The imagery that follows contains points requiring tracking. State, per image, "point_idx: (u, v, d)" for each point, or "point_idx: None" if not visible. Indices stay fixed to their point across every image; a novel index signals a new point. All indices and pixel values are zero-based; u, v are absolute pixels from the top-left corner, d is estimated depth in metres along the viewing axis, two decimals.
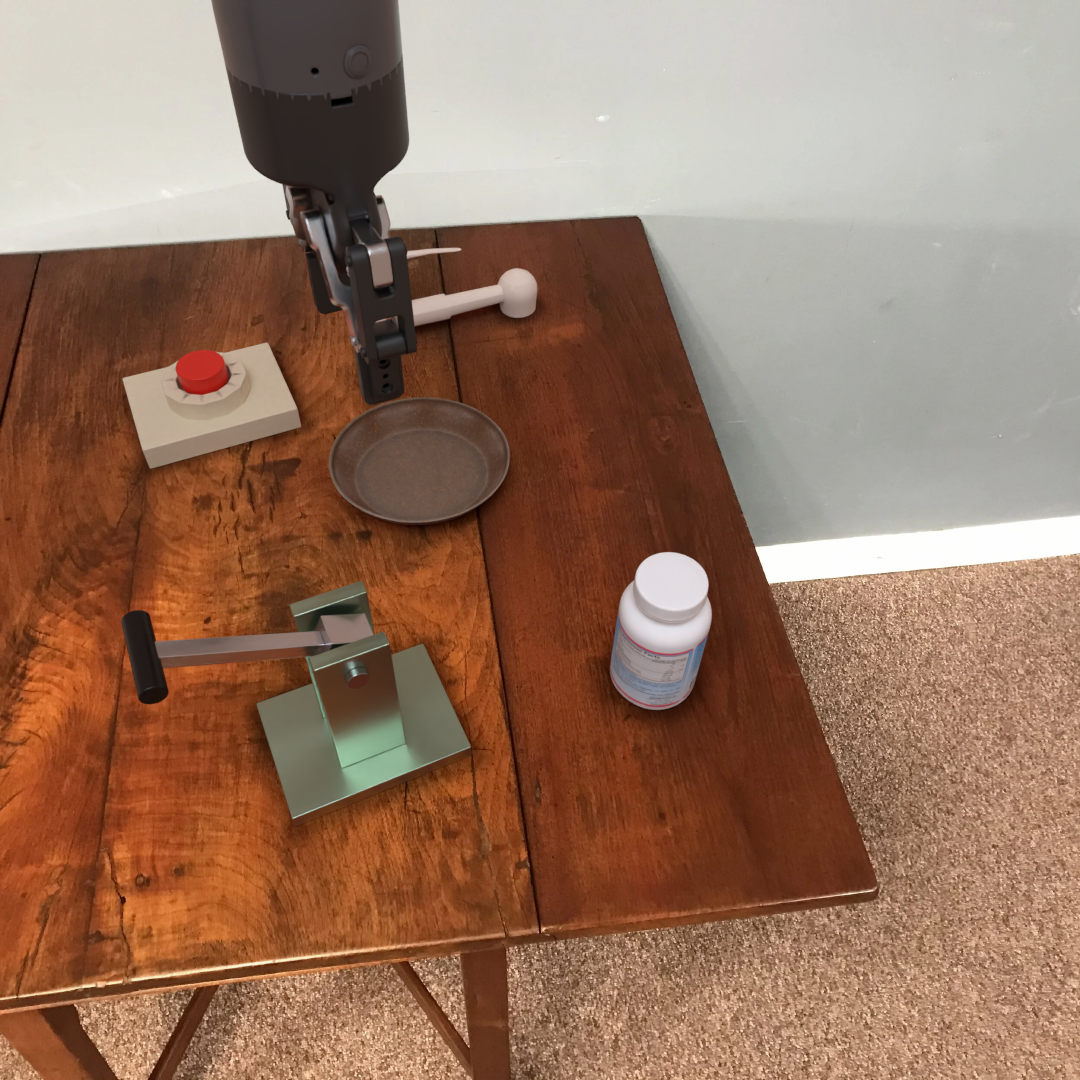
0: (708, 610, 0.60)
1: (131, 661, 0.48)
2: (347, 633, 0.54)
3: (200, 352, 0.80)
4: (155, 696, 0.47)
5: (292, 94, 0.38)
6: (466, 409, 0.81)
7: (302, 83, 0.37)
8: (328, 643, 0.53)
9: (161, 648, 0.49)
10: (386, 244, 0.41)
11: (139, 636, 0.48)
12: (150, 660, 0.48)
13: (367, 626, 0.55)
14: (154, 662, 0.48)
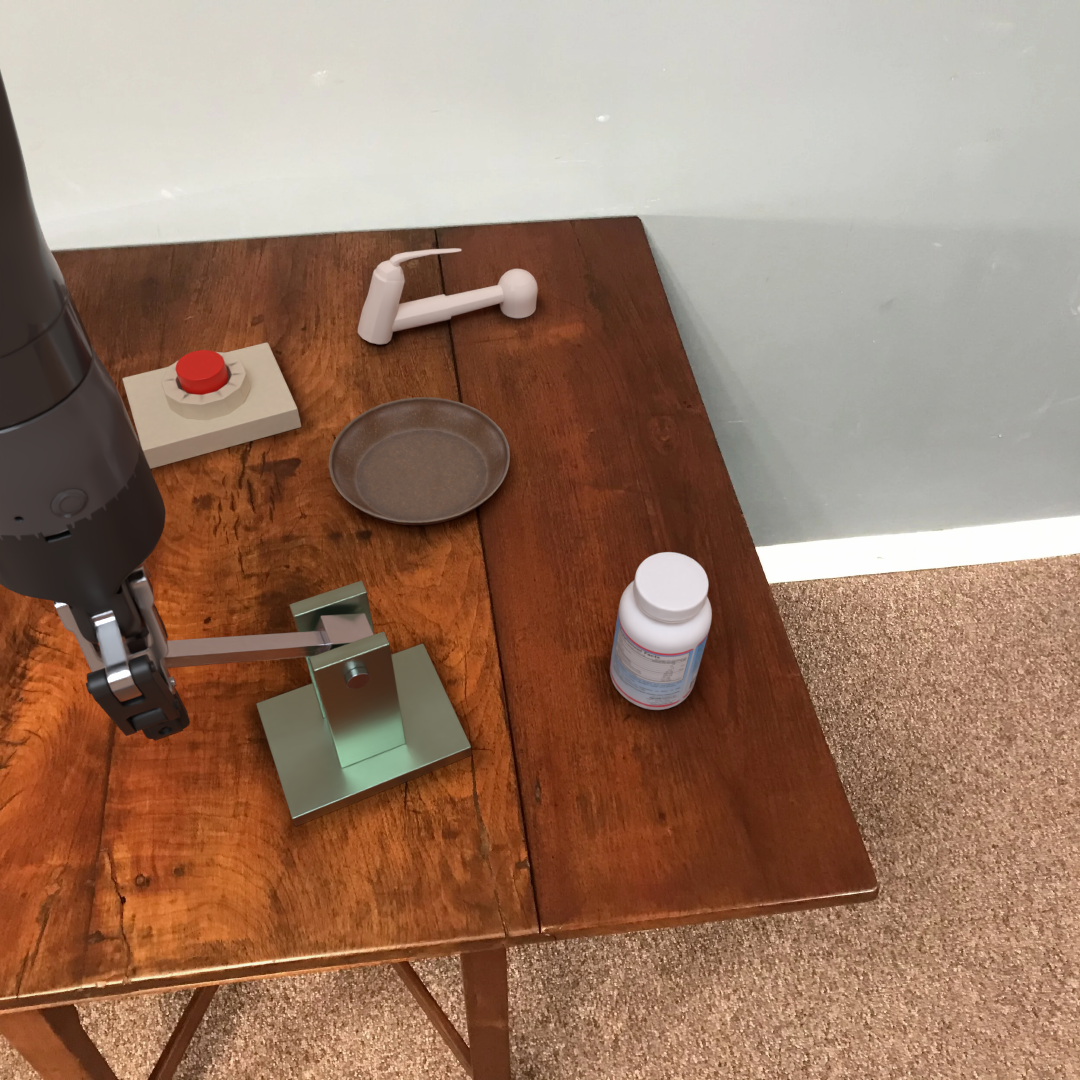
0: (708, 610, 0.60)
1: None
2: (347, 633, 0.54)
3: (200, 352, 0.80)
4: None
5: (0, 535, 0.35)
6: (466, 409, 0.81)
7: (8, 528, 0.35)
8: (328, 643, 0.53)
9: None
10: (130, 674, 0.39)
11: (139, 636, 0.48)
12: None
13: (367, 626, 0.55)
14: None
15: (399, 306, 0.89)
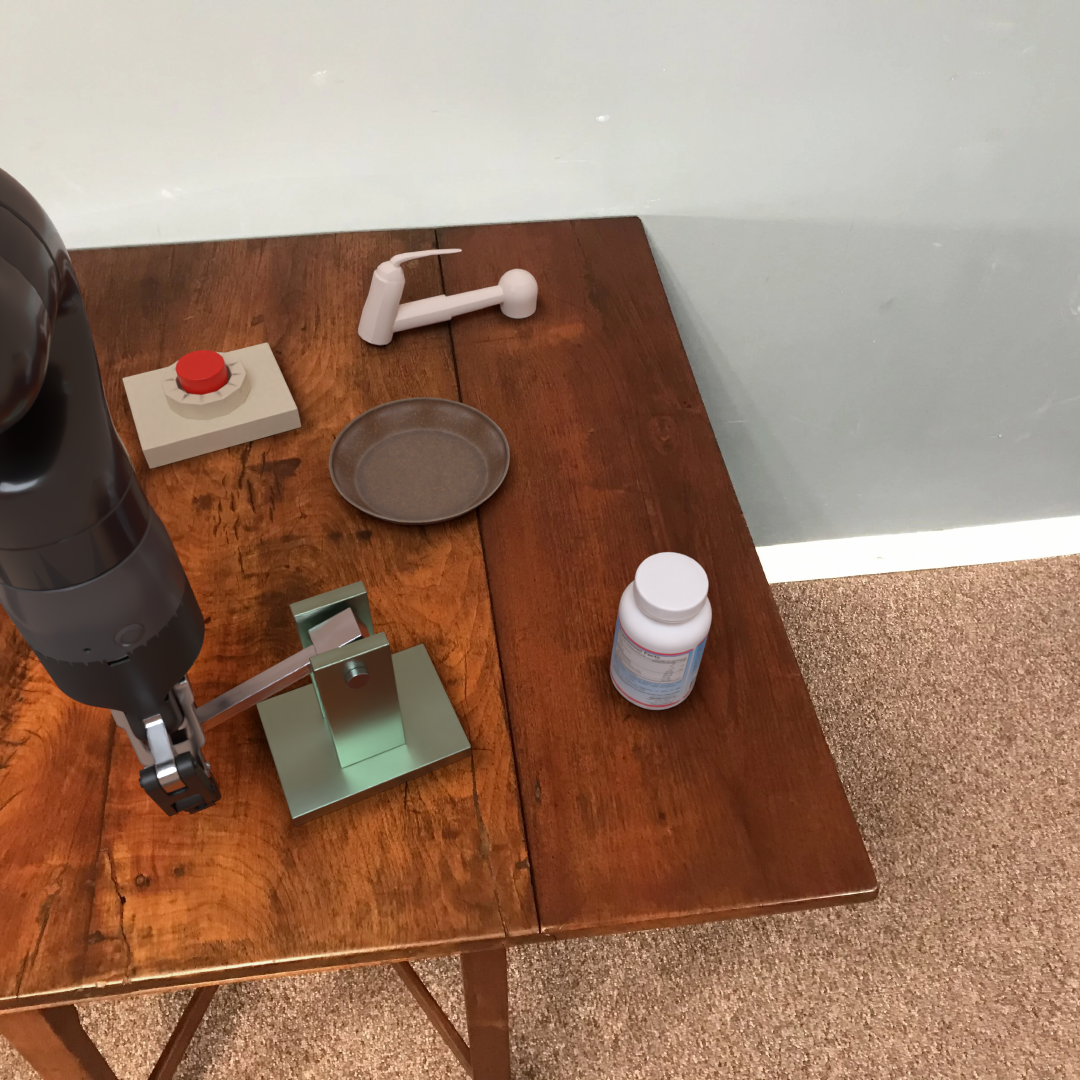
0: (708, 610, 0.60)
1: None
2: (333, 638, 0.54)
3: (200, 352, 0.80)
4: None
5: (70, 662, 0.42)
6: (466, 409, 0.81)
7: (78, 657, 0.41)
8: None
9: None
10: (177, 771, 0.45)
11: None
12: None
13: (352, 621, 0.54)
14: None
15: (399, 307, 0.89)
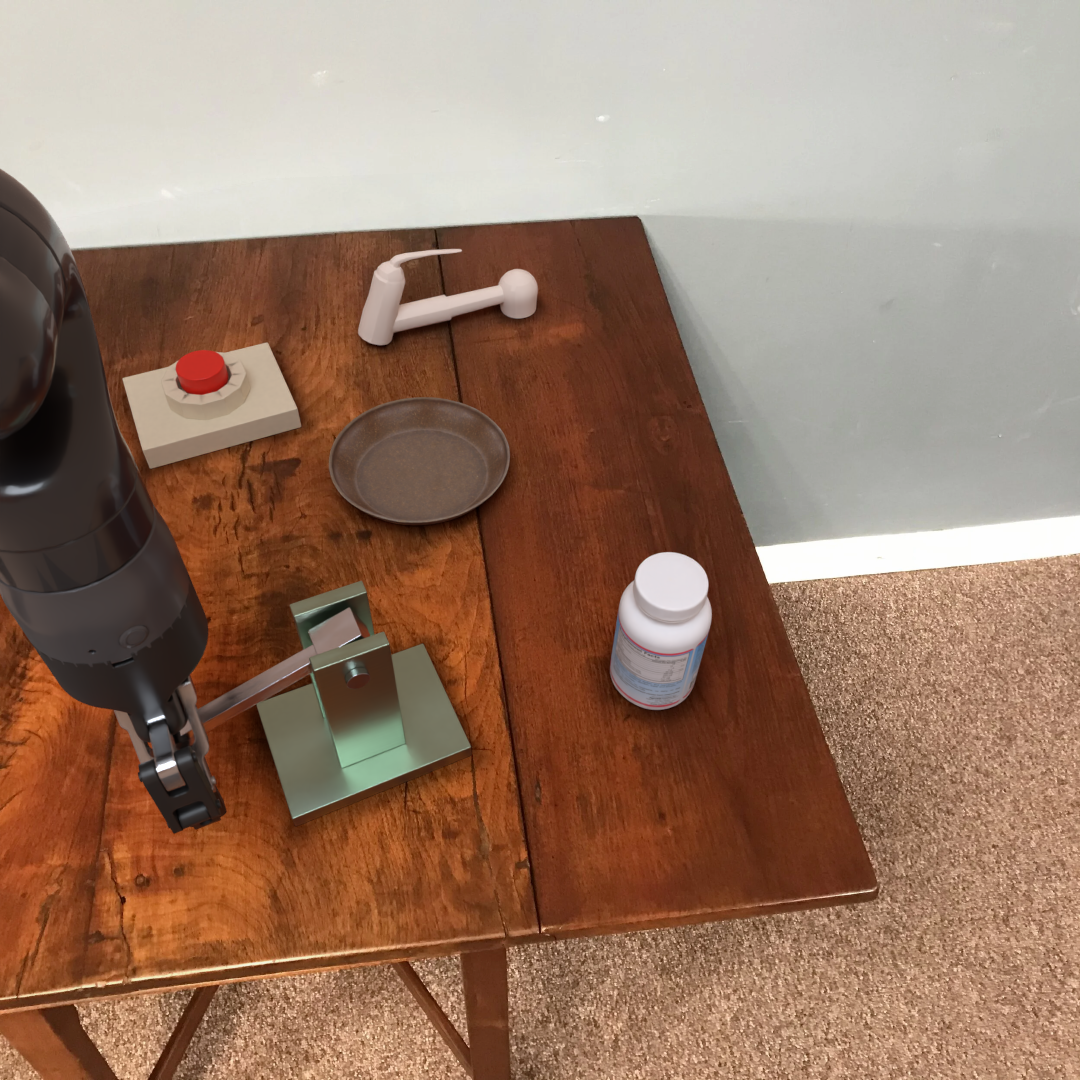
0: (708, 610, 0.60)
1: None
2: (333, 639, 0.54)
3: (200, 352, 0.80)
4: None
5: (75, 663, 0.42)
6: (466, 409, 0.81)
7: (82, 658, 0.42)
8: None
9: None
10: (175, 761, 0.45)
11: None
12: None
13: (352, 622, 0.54)
14: None
15: (399, 307, 0.89)
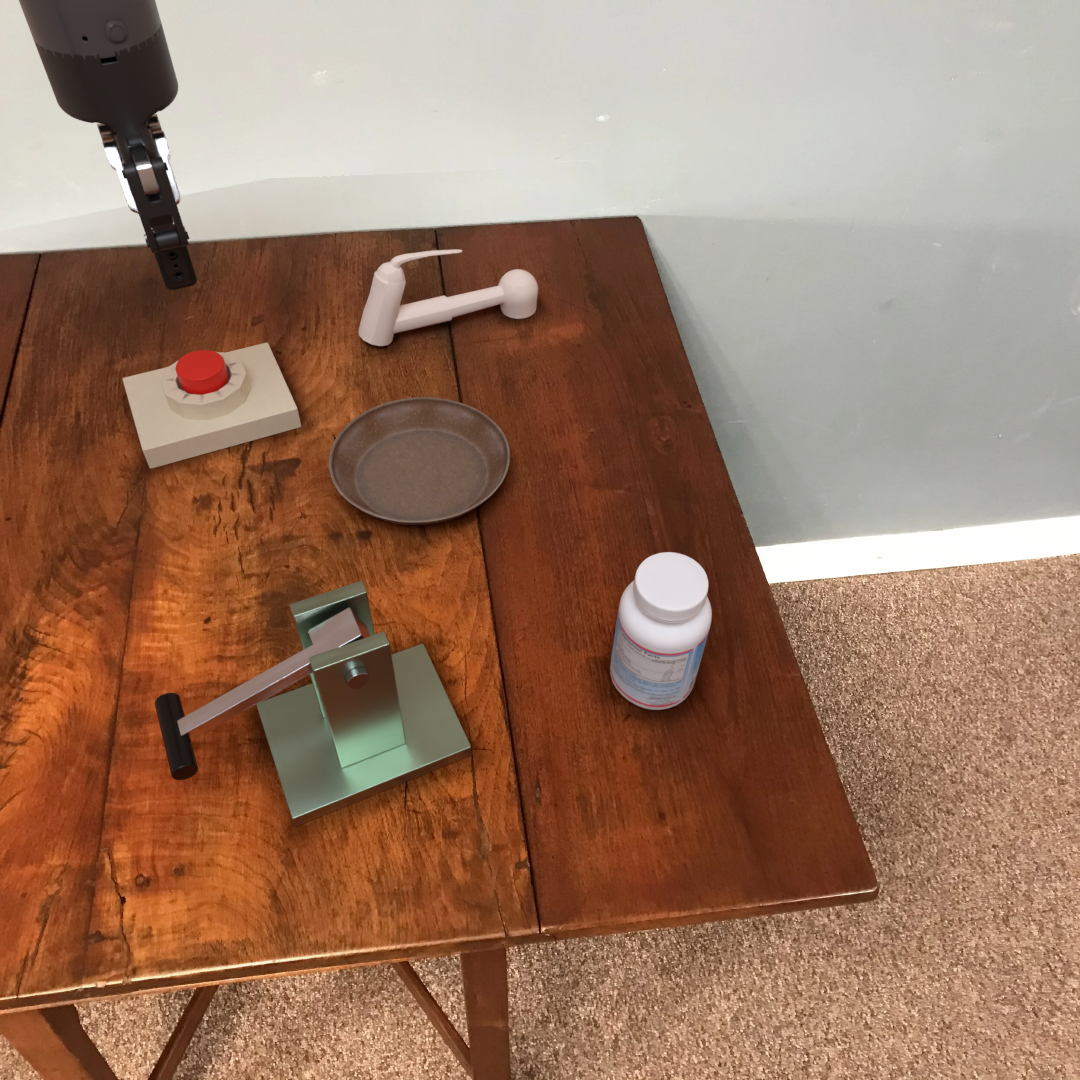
0: (708, 610, 0.60)
1: (165, 746, 0.54)
2: (333, 639, 0.54)
3: (200, 352, 0.80)
4: (186, 772, 0.53)
5: (72, 55, 0.55)
6: (466, 409, 0.81)
7: (77, 47, 0.55)
8: None
9: (182, 725, 0.54)
10: (150, 162, 0.58)
11: (163, 722, 0.54)
12: (172, 743, 0.53)
13: (352, 622, 0.54)
14: (175, 744, 0.53)
15: (400, 308, 0.89)
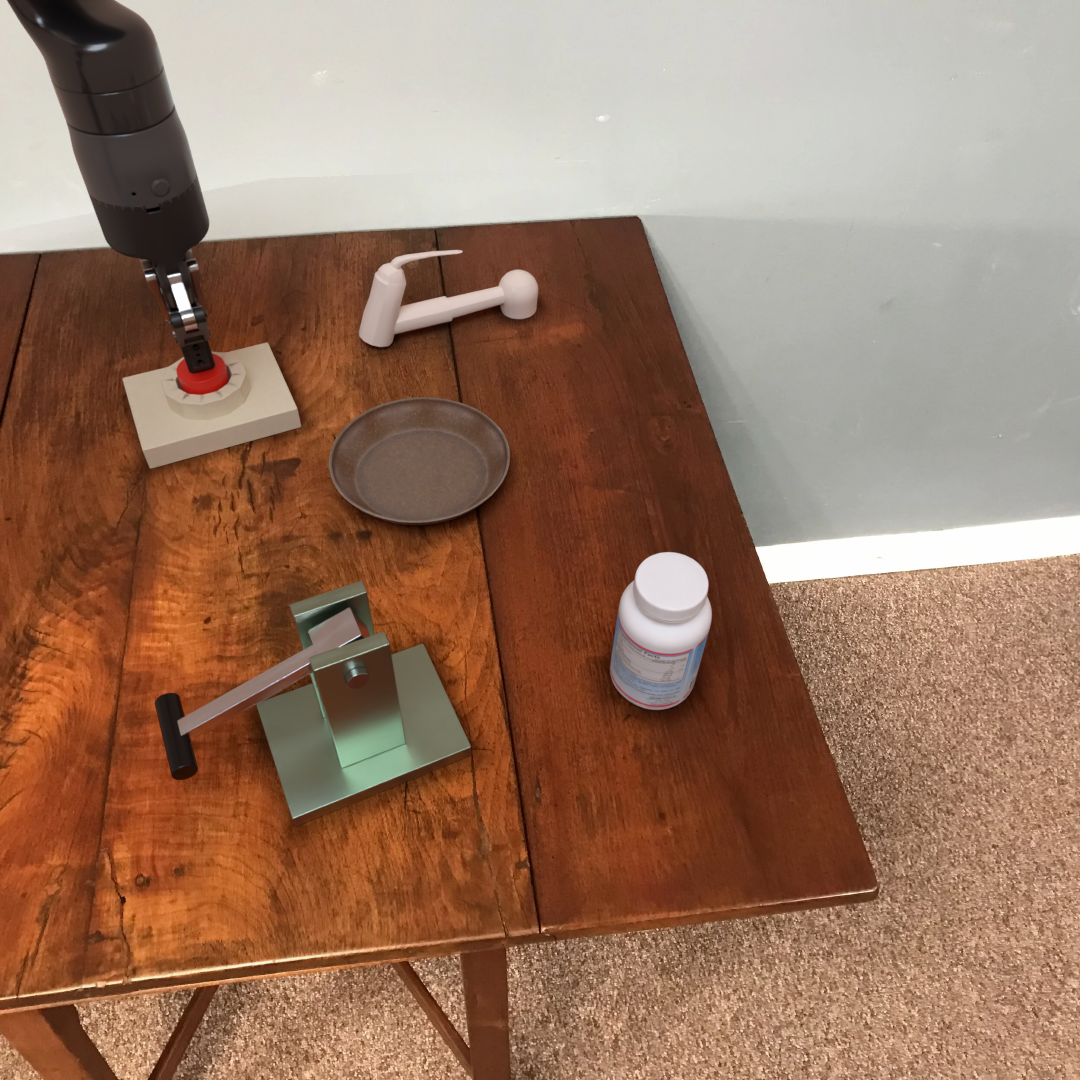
0: (708, 610, 0.60)
1: (165, 746, 0.54)
2: (333, 639, 0.54)
3: None
4: (186, 772, 0.53)
5: (122, 206, 0.64)
6: (466, 409, 0.81)
7: (127, 200, 0.64)
8: None
9: (182, 725, 0.54)
10: (195, 317, 0.69)
11: (163, 722, 0.54)
12: (172, 743, 0.53)
13: (352, 622, 0.54)
14: (175, 744, 0.53)
15: (400, 308, 0.89)
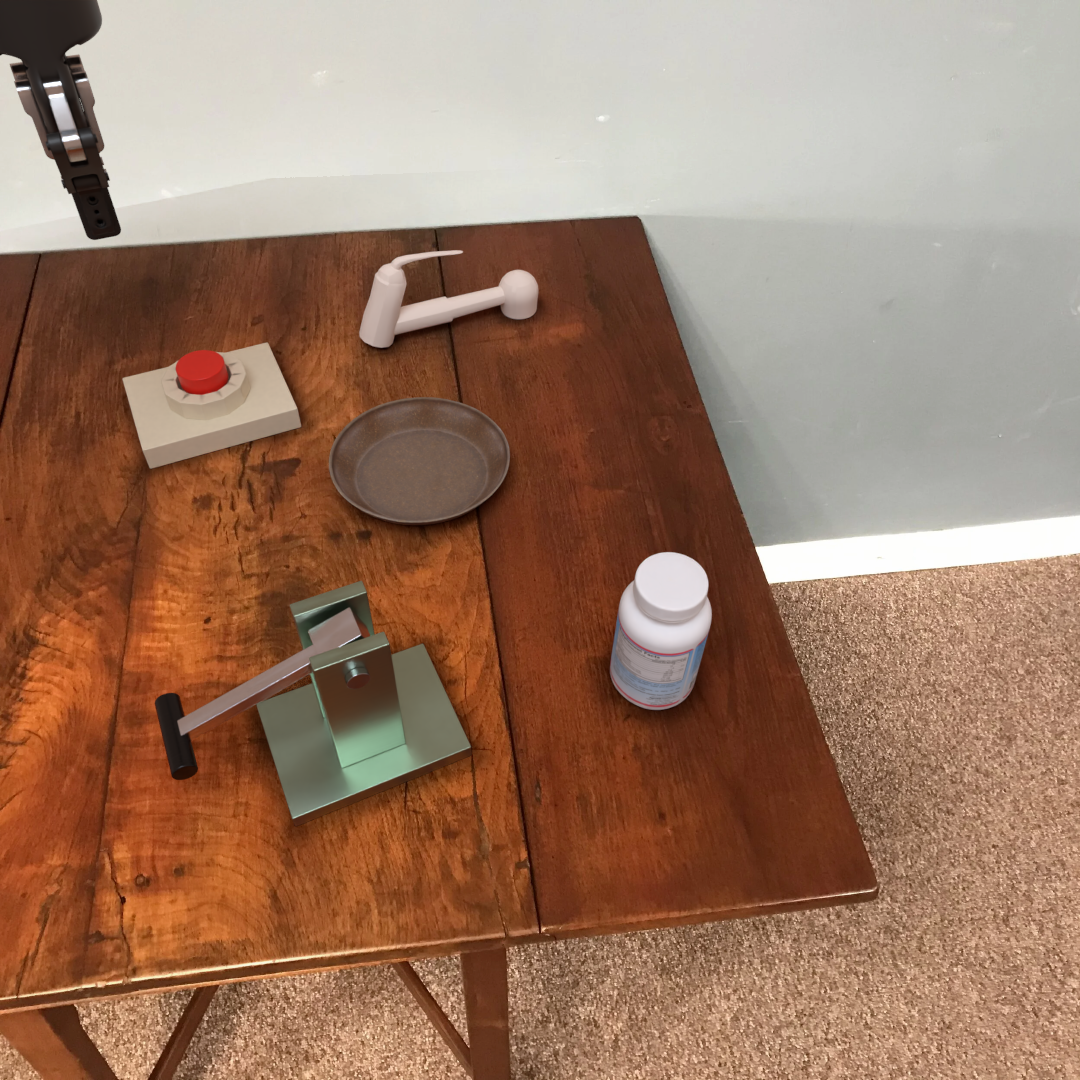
0: (708, 610, 0.60)
1: (165, 746, 0.54)
2: (333, 639, 0.54)
3: (200, 352, 0.80)
4: (186, 772, 0.53)
5: None
6: (466, 409, 0.81)
7: None
8: None
9: (182, 725, 0.54)
10: (80, 140, 0.53)
11: (163, 722, 0.54)
12: (172, 743, 0.53)
13: (352, 622, 0.54)
14: (175, 744, 0.53)
15: (401, 309, 0.89)
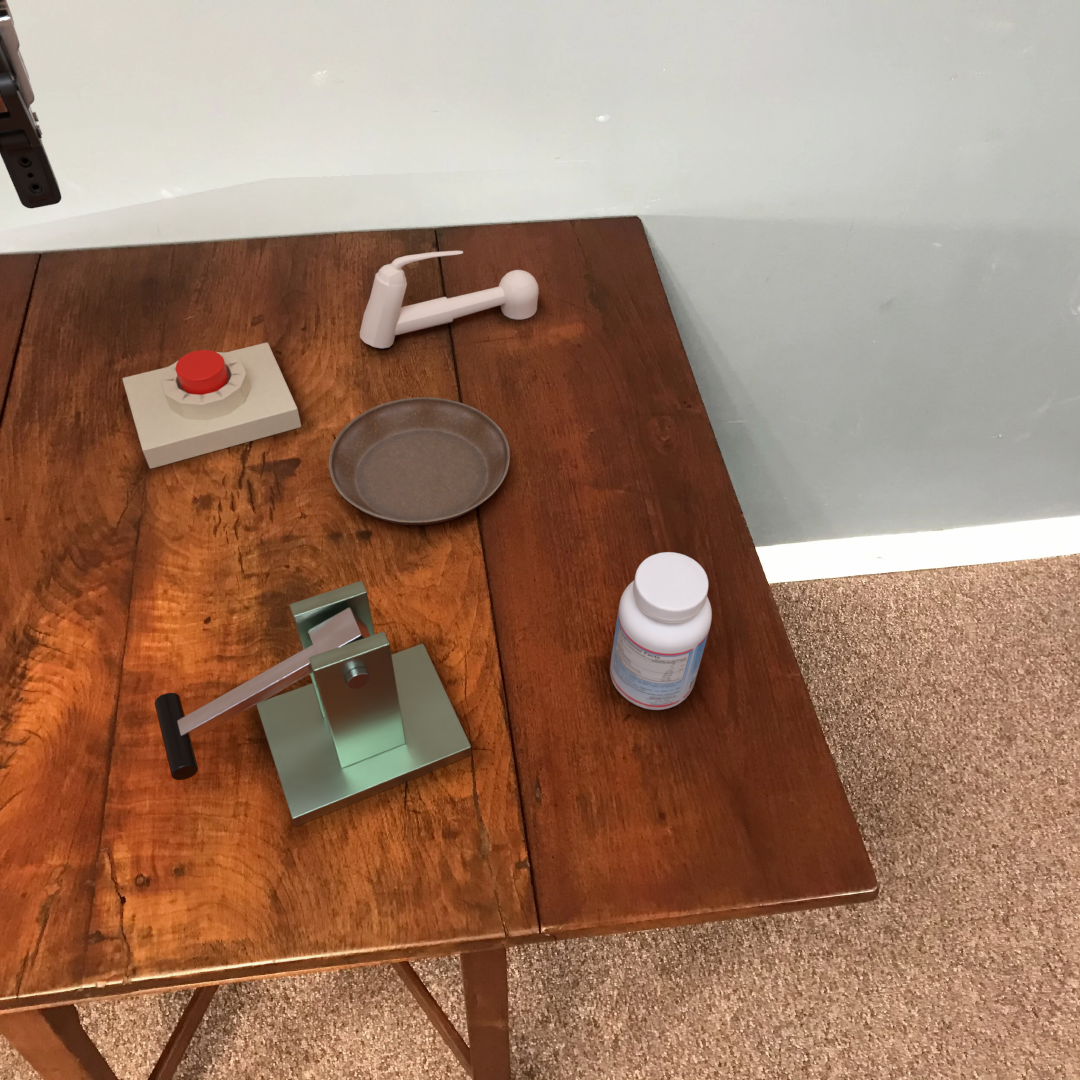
0: (708, 610, 0.60)
1: (165, 746, 0.54)
2: (333, 639, 0.54)
3: (200, 352, 0.80)
4: (186, 772, 0.53)
5: None
6: (466, 409, 0.81)
7: None
8: None
9: (182, 725, 0.54)
10: None
11: (163, 722, 0.54)
12: (172, 743, 0.53)
13: (352, 622, 0.54)
14: (175, 744, 0.53)
15: (401, 309, 0.89)
